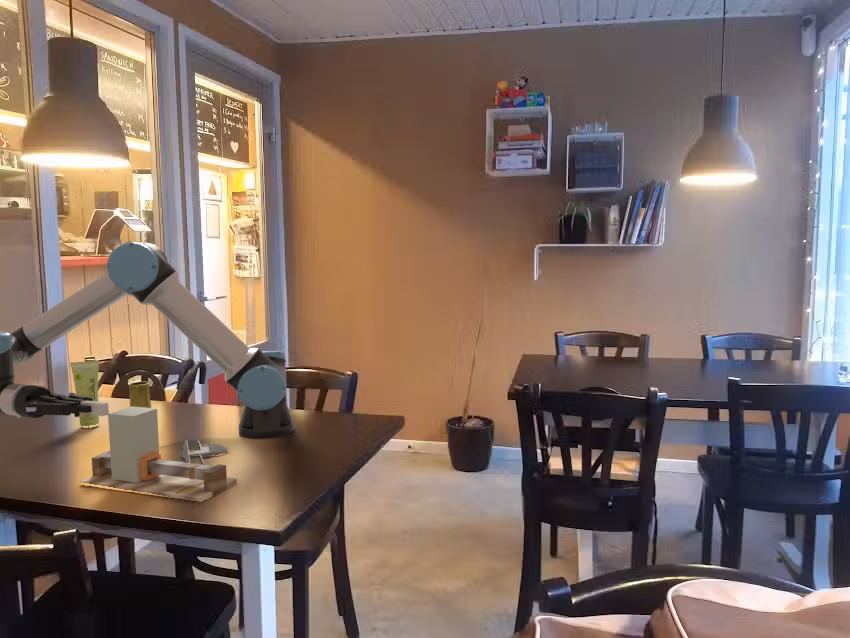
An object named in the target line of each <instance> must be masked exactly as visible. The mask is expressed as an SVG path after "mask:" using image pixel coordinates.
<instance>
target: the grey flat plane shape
mask: <svg viewBox="0 0 850 638" xmlns="http://www.w3.org/2000/svg"><path fill="white" fill-rule="evenodd" d="M198 443H199V445H198V447H200V448H199V450H195V449H190V450H189V444H188V440H184V441H183V444H182V447H181V450H180V454H182V455H180V457H181V456H182V457H183V458H185V459H184V461H185V462H187V463H191V457H189V456H192V455H199V456H200V458H201V460H200V462H201V461H202V462H201V464H202V463H203V464H202V465H206V463H205V461H204V458H205V457H207V456H209V455H210V456H209V457H211V458H212V456H213V455H215V456H213V457H217V456H216V455H219V454H222V453H223V454H224V453H227V452H228V449H229V448H228V447H227V446H225V447H224V445H222V444H215V443H210V444H209V443H206V444H201V442H200V440H199V439H197V444H198ZM226 447H227V448H228V449H227V448H226ZM182 449H183V450H182ZM184 449H185V450H184ZM212 454H213V455H212ZM211 455H212V456H211ZM199 456H198V457H199ZM201 456H203V457H204V456H205V457H204V458H202V457H201ZM200 458H199V459H200ZM185 462H184V463H185Z"/></svg>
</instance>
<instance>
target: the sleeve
mask: <svg viewBox="0 0 850 638" xmlns="http://www.w3.org/2000/svg"><path fill="white" fill-rule="evenodd" d="M107 417H108V418H107V420H108V421H107V422H108V436H109V437H108V438H109V451H110V455H111V471H112V479H114V480H121V481H128V482H136V483H138V482H140V481H142V480H149V479H151V478H154V477H156V476H158V475H160V474H152V473H148V465H147V461H149V460H151V459H160V460H162V454H161V453H160V442H159V441H160V440H159V438H160V437H159V422H158V420H159V419H158V408H154V407H151V408H144V407H133V406H132V407H130V406H129V407H126V408H122V409H119V410H116V411H112V412H110V413H109V414H108V415H107Z"/></svg>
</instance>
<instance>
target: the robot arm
mask: <svg viewBox="0 0 850 638" xmlns="http://www.w3.org/2000/svg"><path fill="white" fill-rule="evenodd" d="M106 262H107V263H106V271H107V272H106V273H104V274H103V275H101V276H100V277H98V278H96V279H95V280H93V281H92V282H90V283H88V284H87V285H86V286H84V287H81V289H78V290H77V291H76V292H75V293H73V294H71V295H70V296H68V297H66V298H65V299H64V300H62V301H61V302H59V303H57V304H56V305H53V307H51V308H49V309H48V310H46V311H44V312H43V313H42V314H40V315H38V316H36V317H35V318H33V319H32V320H30V321H28V322H27V323H25V324H24V325H23V326H20V327H18V328H17V329H16V330H15V331H12V332H11V333H10V332H7V331H0V415H6V416H14V417H16V418H17V419H21V418H22V417H23V418H29V419H39V418H42V417H44V416H45V415H46V416H66V417H67V416H71V415H72V414H74V418H79V416H80V412H81V414H89V415H98V416H99V417H105V416H108V414H109V402H104V401H103V402H102V401H98V402H96V401H93V400H92V398H90V397H85V396H81V395H76V392H70V393H68V394H67V395H64V394H58V393H54V392H51V391H50V390H49V389H48V388H47V387H45V386H41V385H33V384H26V383H25V384H24V383H23V384H22V383H15V366H16V365H19V364H20V363H24V362H27V361H28V360H30V359H32V358H33V357H34V356H35V355H36V354H38V353H39V352H41V351H42V350H43V349H45V348H47V347H49V346H50V345H51V344H53V343H55V342H56V341H58V340H59V339H61V338H62V337H64V336H66V335H67V334H69V333H70V332H72V331H73V330H75V329H76V328H78V327H80V326H81V325H83V324H84V323H86V322H87V321H89V320H90V319H92V318H94V317H96V316H98V314H100V313H101V312H103V311H105V310H106V309H107V308H110V307H111V306H112V305H115V304H116V303H118V302H119V301H120V300H122V299H123V298H125V297H127V296H129V297H134V298H135V299H136V300H137V301H138V302H139V303H141V305H143V306H153V307H154V308H155V309H156V310H157V311H158V312H159V313H160V314H162V315H163V316H164V317H165V318H166V319H167V321H169V322H170V323H171V324H172V325H173V326H174V327H176V329H177V330H178V331H180V332H181V333H182V334H183V335H184V336H185V337H186V338H188V340H189V341H191V343H193V344H194V345H195V346H196V347H197V348H198V349H199V350H200V351H201V352H203V354H204V355H205V356H207V357H208V358H209V359H210V360H211V361H212V362H213V363H215V364H216V365H217V367H218V368H220V370H222V371H223V373H224V381H225V382H226V384H228V385H229V386H230V387H231V388H232V389H233V390H234V391H235V392H236V393H237V394H238V396H239V399H240V400H241V402H243V404H244V405H243V409H242V413H241V417H240V420H239V423H238V434H239V436H240V437H243V438H246V439H251V440H252V439H254V440H255V439H256V440H263V439H264V440H265V439H274V438H280V437H283V436H287V435H290V434H291V433H293V432H294V430H295V429H294V428H295V427H294V419H293V416H292V413H291V411H290V409H289V406H288V402H287V389H288V387H287V386H288V385H287V384H288V383H287V372H286V371H287V370H286V368H287V367H286V362H287V359H286V354H285V352H284V351H282V350H265V351H264V350H261V349H259V348H258V347H249V346H248V345H247V344H246V343H244V342H243V340H242V339H241V338H239V337H238V336H237V335H236V334H235V333H234V332H233V331H232V330H231V329H230V328H229V327H228V326H227V325H225V323H224V322H223V321H221V320H220V319H219V318H218V317H217V316H216V315H215V314H214V313H213V312H212V311H211V310H210V309H209V308H208V307H207V306H205V305H204V304H203V302H201V301H200V300H199V299H198V298H197V297H196V296H195V295H194V294H193V293H192V292H191V291H190V290H189V289H188V288H186V286H184V285H183V284H182V282H181V281H180V280H179V271H178V270H176V269H175V268H174V266H172V265H171V264H170V263H169V261H168V258H167V255H166V253H165V252H164V251H163V250H162V248H161V247H158V246H157V245H155V244H153V243H150V242H144V241H136V240H133V241H126V242H124V243H122V244H120V245H118V246H116V247H115V248H114V249H113V250H112V251H111V252H110V254H109V256H108V258H107V261H106Z"/></svg>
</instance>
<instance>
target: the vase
mask: <svg viewBox="0 0 850 638" xmlns="http://www.w3.org/2000/svg"><path fill="white" fill-rule="evenodd" d="M128 386H129V407H132V406H133V407H144V408H152V403H151V393H150V392H151V391H150V382H149V381H146V380H145V381H133V382H131V383H130V382H129V384H128Z"/></svg>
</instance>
